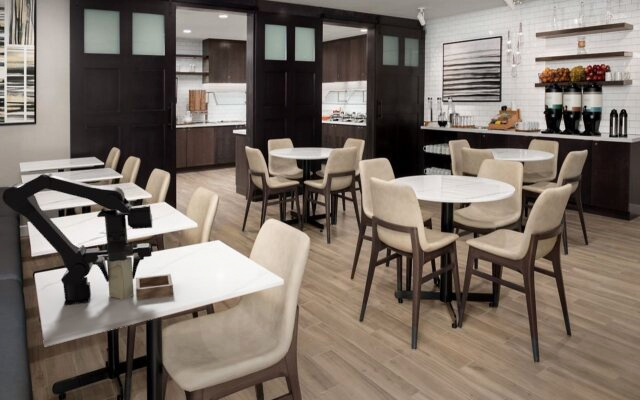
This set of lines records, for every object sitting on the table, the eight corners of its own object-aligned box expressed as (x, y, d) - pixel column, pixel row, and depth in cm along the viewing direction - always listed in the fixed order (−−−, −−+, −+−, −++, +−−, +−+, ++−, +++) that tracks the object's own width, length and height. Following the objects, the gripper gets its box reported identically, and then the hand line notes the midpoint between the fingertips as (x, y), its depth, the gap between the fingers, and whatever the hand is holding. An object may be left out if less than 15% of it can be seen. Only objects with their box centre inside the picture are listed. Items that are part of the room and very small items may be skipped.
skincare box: (108, 296, 160) (105, 257, 157) (120, 291, 164) (117, 253, 161) (123, 300, 157) (120, 261, 154) (135, 295, 161) (132, 256, 158)
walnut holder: (136, 300, 157) (135, 289, 156) (136, 287, 166) (135, 277, 166) (173, 295, 160) (172, 285, 159) (171, 283, 170) (170, 273, 169)
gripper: (79, 240, 146) (84, 293, 149) (150, 233, 152) (154, 285, 155) (82, 230, 156) (87, 280, 159) (149, 224, 162) (152, 273, 165)
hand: (120, 280), depth 159 cm, fingers closed on skincare box, 7 cm apart
